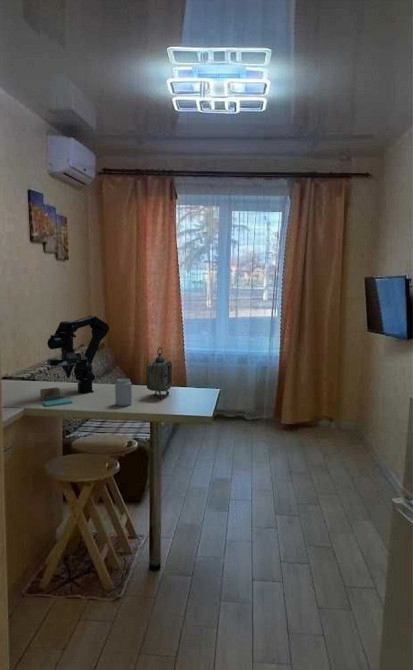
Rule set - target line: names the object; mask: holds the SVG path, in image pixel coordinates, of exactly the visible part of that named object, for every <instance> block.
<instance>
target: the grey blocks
mask: <svg viewBox="0 0 413 670" xmlns="http://www.w3.org/2000/svg"><path fill="white" fill-rule="evenodd" d="M58 399H61V394H60V395H59V394H57V395H49V396H46V401H50V400H58Z"/></svg>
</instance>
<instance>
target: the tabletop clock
mask: <svg viewBox="0 0 413 670" xmlns="http://www.w3.org/2000/svg"><path fill="white" fill-rule="evenodd" d="M159 350H161V351H160V352H159ZM156 354H157V356H156V357H155V359H154V360H153V361H152V362H150V363H148V364H147V366H146V380H145V381H146V389H148V390H149V391H151V392H152V391H155V393H153V396H154V397H157V396H158V394H159V399H160V400H162V399H163V395H162V392H166V395H169V394H170V391H169V390H170V389H171V387H172V383H173V367H172V366H173V364H172V361H170V360H165V357H164V356H162V354H163V348H162V346H161V347H158V348H157V352H156ZM157 393H158V394H157Z"/></svg>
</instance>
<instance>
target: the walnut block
mask: <svg viewBox="0 0 413 670" xmlns="http://www.w3.org/2000/svg"><path fill="white" fill-rule="evenodd" d="M57 394H59V395H60V396H61V389H60V388H58V387H57V386H55V387H49V388H41V389H40V400H42V402H43V401H46V396H49V395H57Z"/></svg>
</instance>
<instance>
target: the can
mask: <svg viewBox="0 0 413 670" xmlns="http://www.w3.org/2000/svg"><path fill="white" fill-rule="evenodd" d="M132 385H133V383H132V382H131V379H130V378H117V379H116V382H115V384H114V386H115V387H114V389H115V390H114V392H115V395H114V396H115V397H114V398H115V401H114V402H115V404H116V405H117V406H118V407H127V406H130V405H131V404H132V402H133V401H132V399H133V398H132V397H133V396H132V395H133V394H132V393H133V392H132Z"/></svg>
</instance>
